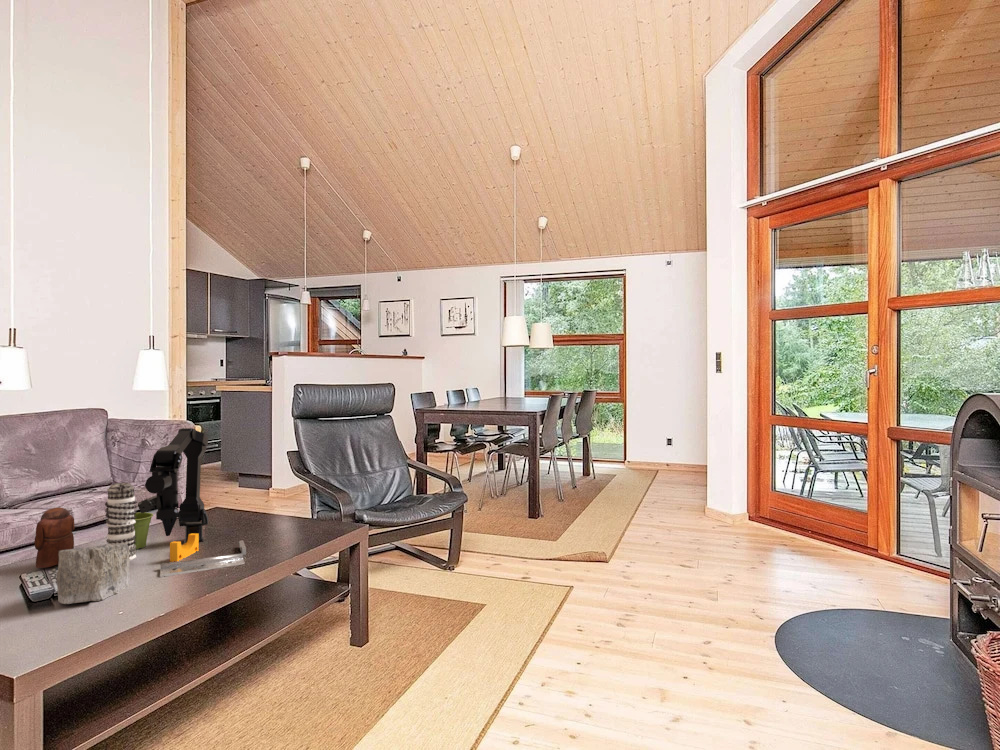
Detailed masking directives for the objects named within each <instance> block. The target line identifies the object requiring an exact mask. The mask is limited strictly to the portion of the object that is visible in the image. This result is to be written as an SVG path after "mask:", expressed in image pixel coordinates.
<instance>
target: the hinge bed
mask: <svg viewBox="0 0 1000 750" xmlns="http://www.w3.org/2000/svg"><path fill="white" fill-rule="evenodd" d="M238 547H239V551H240V553H235V554H225V555H218V556H212V557H211V556H210V557H202V558H201V557H200V558H194V559H187V560H180V561H178V562H170V561H169V562H164V563H163V562H162V563H160V569H159V570H160V571H159V572H160V573H159V577H160V578H163V577H164V576H165V577H171V576H172V577H173V576H178V574H179V575H185V574H191V573H196V572H197V571H198V572H203V571H208V570H217V569H221V568H228V567H236V566H240V565H246V564H245V563H246V562H245V560H244V556H247V547H246V544H245V542H244V540H243V539H242V540H239V545H238Z"/></svg>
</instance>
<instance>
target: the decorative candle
mask: <svg viewBox="0 0 1000 750" xmlns="http://www.w3.org/2000/svg"><path fill="white" fill-rule="evenodd" d="M135 488H136V487H135V486H133V485H132V484H131V483H130V482H119V483H113V484H111V485H110V486H109V488H107V489H106V491H107V499H106V502H104V506H105V507H106V508H105V517H106V519H105V523H106V527H107V532H108V533H107V538H106V540H105V541H106V543H107V544H110V545H118V544H127V545H128V549H129V561H131V560H134V559H135V558H136V557H137V555H136V554H137V549H136V546H135V545H134V544H135V543H136V541H135V540H134V539H135V538H136V536H135V530H134V523H136V521H135V520H134V519H135V518H136V516H134V515H135V514H136V513H137V511H136V510H135V509H136V508H138V505H136V504H138V502H137V500H136V496H135ZM135 549H136V550H135Z"/></svg>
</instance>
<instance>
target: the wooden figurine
mask: <svg viewBox="0 0 1000 750" xmlns="http://www.w3.org/2000/svg"><path fill="white" fill-rule="evenodd" d="M35 527H36V528H35V537H34V547H35V549H36V550H37V552H36V558H35V568H41V569H42V568H45V569H46V568H50V567H54V566H58V565H59V556H58V555H59V551H61V550H68V549H75V537H74V533H73V532H74V530H75V529H76V528H75V527H76V526H75V518H74V516H73V515H71V514H70V512H69V511H68V510H67V509H66V508H63V507H52V508H49V509H47V510H46V511H44V512H43V514H42V515H41V517H40V520H39V521H38V522H37V524H36V525H35Z"/></svg>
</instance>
